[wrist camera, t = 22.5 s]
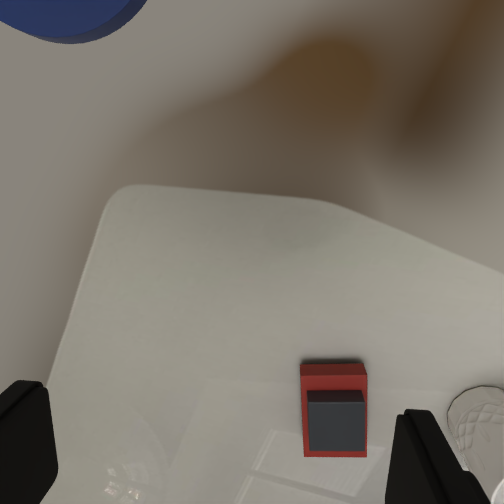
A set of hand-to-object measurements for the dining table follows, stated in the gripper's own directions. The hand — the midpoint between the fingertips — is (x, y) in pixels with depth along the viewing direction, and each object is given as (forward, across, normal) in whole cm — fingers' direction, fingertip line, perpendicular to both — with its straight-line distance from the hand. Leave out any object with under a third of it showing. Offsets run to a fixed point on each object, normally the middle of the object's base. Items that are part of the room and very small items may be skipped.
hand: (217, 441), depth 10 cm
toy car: (+24, -4, +17) cm, 30 cm away
